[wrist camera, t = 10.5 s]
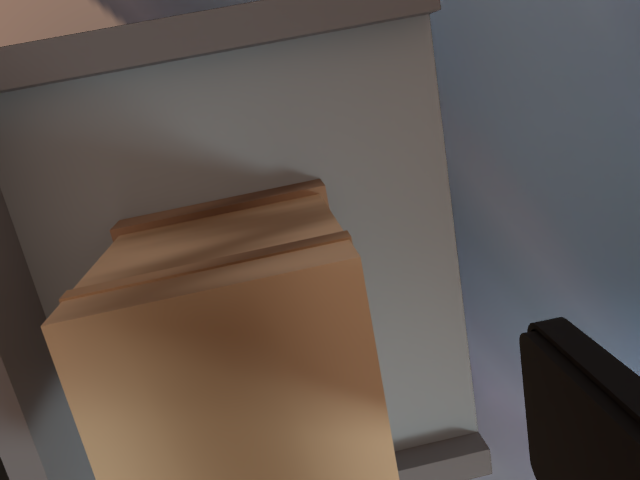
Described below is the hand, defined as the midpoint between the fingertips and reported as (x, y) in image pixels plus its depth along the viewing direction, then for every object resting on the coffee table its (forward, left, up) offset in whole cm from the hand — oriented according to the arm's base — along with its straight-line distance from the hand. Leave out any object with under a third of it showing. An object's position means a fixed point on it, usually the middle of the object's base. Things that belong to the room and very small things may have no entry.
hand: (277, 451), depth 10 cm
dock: (+1, 0, -11) cm, 10 cm away
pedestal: (+1, 0, -8) cm, 8 cm away
